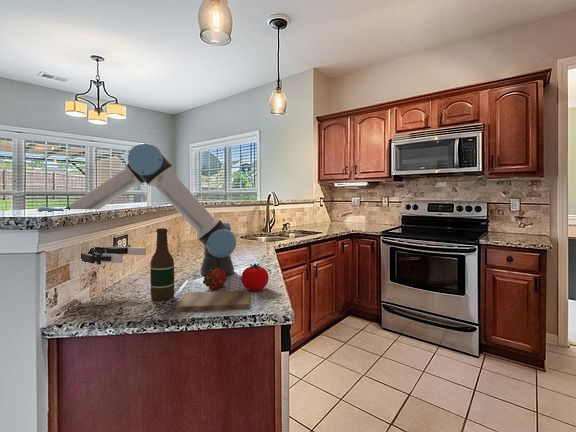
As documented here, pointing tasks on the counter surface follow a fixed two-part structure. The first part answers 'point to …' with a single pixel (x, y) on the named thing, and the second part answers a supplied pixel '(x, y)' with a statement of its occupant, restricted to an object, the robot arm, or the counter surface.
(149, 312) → the counter surface
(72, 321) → the counter surface
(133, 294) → the counter surface
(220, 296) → the wooden cutting board
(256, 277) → the tomato
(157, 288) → the beer bottle
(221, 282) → the dragon fruit
